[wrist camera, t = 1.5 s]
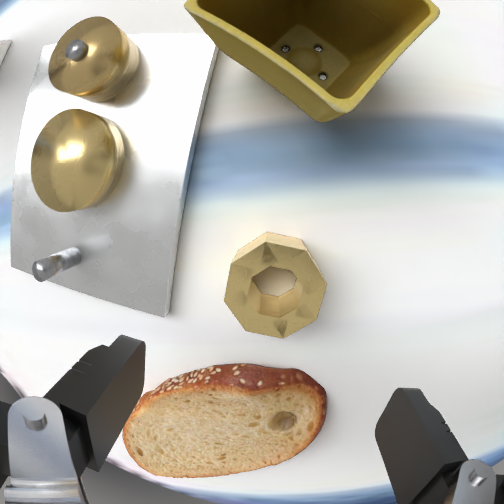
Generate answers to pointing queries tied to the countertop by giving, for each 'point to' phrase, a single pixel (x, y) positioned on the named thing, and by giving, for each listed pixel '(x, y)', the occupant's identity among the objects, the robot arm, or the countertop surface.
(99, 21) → the carrier
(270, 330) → the gold octagonal ring
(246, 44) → the flower pot
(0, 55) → the skyscraper
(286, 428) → the slice of bread
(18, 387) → the countertop surface
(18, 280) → the countertop surface
